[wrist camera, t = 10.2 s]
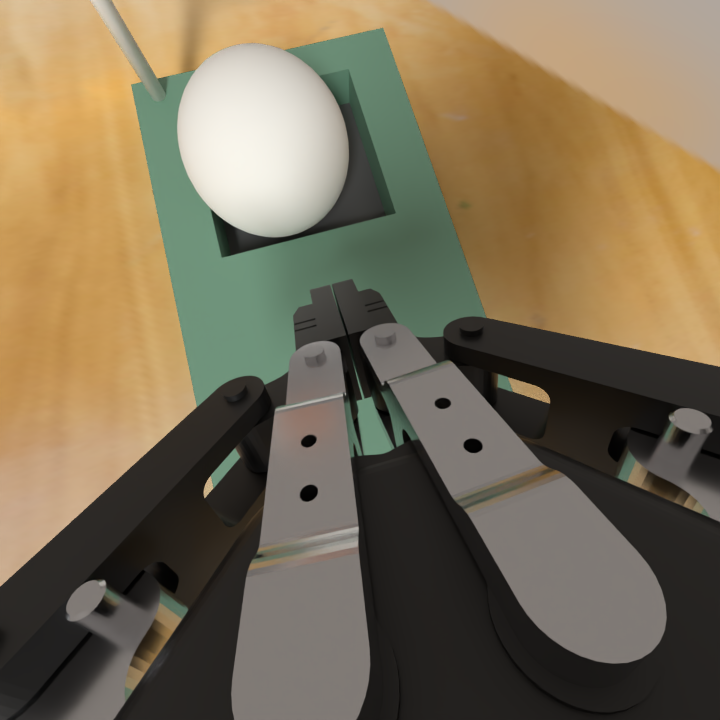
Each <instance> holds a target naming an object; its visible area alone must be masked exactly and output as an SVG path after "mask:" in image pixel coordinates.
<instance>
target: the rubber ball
mask: <svg viewBox="0 0 720 720" xmlns="http://www.w3.org/2000/svg"><path fill="white" fill-rule="evenodd" d="M177 134H178V144H179V149H180V154H181V158H182V161H183V164H184V167H185V169H186V172H187V175H188V177H189V179H190V180H191V182H192V184H193V186H194V188H195V189H196V191H197V193H198V194H199V195H200V197H201V198H202V199H203V200H204V202H205V203H206V204H207V205H208V206H209V207H210V208H211V209H212V210H213V211H214V212H215V213H216V214H217V215H218V216H219V217H221V218H222V219H223V220H225V221H226V222H228V223H229V224H231V225H232V226H234V227H236V228H238V229H241V230H243V231H245V232H247V233H250V234H254V235H258V236H264V237H285V236H291V235H294V234H298V233H300V232H303V231H305V230H307V229H309V228H311V227H313V226H314V225H315V224H317V223H318V222H319V221H321V220H322V219H323V218H324V217H325V216H326V215H327V213H328V212H329V211H330V210H331V209H332V208H333V206H334V205H335V203H336V201H337V199H338V197H339V195H340V193H341V191H342V189H343V186H344V183H345V180H346V176H347V170H348V163H349V142H348V136H347V131H346V126H345V122H344V119H343V116H342V113H341V110H340V108H339V106H338V104H337V102H336V100H335V98H334V96H333V94H332V93H331V91H330V90H329V88H328V87H327V85H326V84H325V82H324V81H323V80H322V79H321V78H320V76H319V75H318V74H317V73H316V72H315V71H314V70H313V69H312V68H311V67H310V66H308V65H307V64H306V63H305V62H303V61H302V60H301V59H299V58H298V57H296V56H294V55H293V54H291V53H289V52H287V51H285V50H282V49H280V48H277V47H274V46H269V45H265V44H258V43H246V44H239V45H234V46H230V47H228V48H225V49H222V50H220V51H218V52H216V53H215V54H213V55H212V56H210V57H209V58H207V59H206V60H205V61H204V62H203V63H202V64H201V65H200V66H199V67H198V68H197V70H196V71H195V72H194V73H193V75H192V76H191V78H190V80H189V82H188V84H187V85H186V87H185V89H184V92H183V95H182V98H181V102H180V106H179V111H178V121H177Z"/></svg>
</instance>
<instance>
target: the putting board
mask: <svg viewBox="0 0 720 720" xmlns="http://www.w3.org/2000/svg"><path fill="white" fill-rule="evenodd" d="M90 1H91V3H92V4H93V6H94V7H95V9H96V11H97V12H98V14H99V15H100V17H101V18H102V20H103V22H104V23H105V25H106V26H107V28H108V29H109V31H110V33H111V34H112V36H113V37H114V39H115V40H116V42H117V44H118V45H119V47H120V48H121V50H122V52H123V53H124V55H125V56H126V58H127V59H128V61H129V63H130V64H131V66H132V67H133V69H134V70H135V72H136V74H137V75H138V77H139V78H140V80H141V81H142V82H141V83H136V84H132V85H131V86H132V91H133V96H134V100H135V105H136V110H137V115H138V120H139V125H140V130H141V135H142V140H143V145H144V149H145V154H146V159H147V164H148V169H149V174H150V179H151V184H152V189H153V194H154V198H155V203H156V208H157V213H158V218H159V223H160V228H161V233H162V238H163V243H164V247H165V252H166V257H167V262H168V267H169V272H170V277H171V282H172V287H173V292H174V296H175V301H176V306H177V311H178V316H179V321H180V326H181V331H182V336H183V341H184V346H185V350H186V355H187V360H188V365H189V370H190V375H191V380H192V385H193V390H194V395H195V399H196V404H197V407H198V406H199V405H200V404H201V403H202V402H203V401H204V400H205V399H207V398H208V397H209V396H210V395H211V394H212V393H213V392H214V391H215V390H216V389H218V388H219V387H220V386H221V385H223V384H224V383H226V382H228V381H230V380H232V379H235V378H238V377H242V376H256V377H259V378H260V379H261V380H262V381H263V383H264V385H265V384H267V383H269V382H272V381H274V380H276V379H277V378H279V377H281V376H283V375H284V374H285V373H287V372H288V371H289V361H290V358H291V356H292V355H293V353H294V352H295V351H296V347H295V334H294V332H295V331H294V322H293V315H294V314H295V312H296V310H297V309H298V307H302V306H305V305H309V304H312V300H311V294H310V290H311V289H315V288H319V287H322V286H326V285H330V286H331V289H332V292H333V288H332V284H334V283H338V282H341V281H345V280H349V279H353V282H354V284H355V286H356V288H357V290H358V291H362V290H366V289H370V288H371V289H373V290H375V291H377V292H379V293H380V294H381V296H382V297H383V299H384V301H385V302H386V304H387V306H388V308H389V309H390V311H391V313H392V314H393V316H394V318H395V319H396V321H397V323H398V324H401V325H404V326H406V327H408V328H409V329H410V331H411V332H412V333H413V334H414V336H416V337H441V336H443V330H444V328H445V326H446V325H447V324H448V323H450V322H451V321H453V320H456V319H459V318H463V317H471V316H476V317H484V318H486V315H485V312H484V310H483V307H482V304H481V301H480V298H479V296H478V293H477V290H476V287H475V284H474V282H473V279H472V276H471V273H470V270H469V268H468V265H467V262H466V259H465V256H464V254H463V251H462V248H461V245H460V242H459V240H458V237H457V234H456V231H455V228H454V226H453V223H452V220H451V217H450V214H449V211H448V209H447V206H446V203H445V200H444V197H443V195H442V192H441V189H440V186H439V183H438V181H437V178H436V175H435V172H434V169H433V167H432V164H431V161H430V158H429V155H428V153H427V150H426V147H425V144H424V141H423V139H422V136H421V133H420V130H419V127H418V125H417V122H416V119H415V116H414V113H413V111H412V108H411V105H410V102H409V99H408V97H407V94H406V91H405V88H404V85H403V82H402V80H401V77H400V74H399V71H398V68H397V66H396V63H395V60H394V57H393V54H392V52H391V49H390V46H389V43H388V40H387V38H386V35H385V32H384V29H383V28H380V29H376V30H371V31H367V32H363V33H358V34H354V35H349V36H345V37H340V38H336V39H332V40H327V41H323V42H318V43H314V44H309V45H305V46H301V47H296V48H292V49H287V50H285V51H287V52H289V53H291V54H293V55H294V56H296V57H298V58H299V59H301V60H302V61H303V62H305V63H306V64H307V65H308V66H310V67H311V68H312V69H313V70H314V71H315V72H316V73H317V74H318V75H319V76H320V78H321V79H322V80H323V81H324V82H325V84H326V85H327V87H328V88H329V90H330V91H331V93H332V94H333V96H334V98H335V100H336V102H337V104H338V106H339V108H340V110H341V113H342V116H343V119H344V122H345V126H346V131H347V136H348V142H349V163H348V170H347V176H346V180H345V183H344V186H343V189H342V191H341V193H340V195H339V197H338V199H337V201H336V203H335V205H334V206H333V208H332V209H331V210H330V211H329V212H328V213H327V215H326V216H325V217H324V218H323V219H322V220H321V221H319V222H318V223H317V224H315V225H314V226H313V227H311V228H309V229H307V230H305V231H303V232H300V233H298V234H294V235H291V236H285V237H264V236H258V235H254V234H250V233H247V232H245V231H243V230H241V229H238V228H236V227H234V226H232V225H231V224H229V223H228V222H226V221H225V220H223V219H222V218H221V217H219V216H218V215H217V214H216V213H215V212H214V211H213V210H212V209H211V208H210V207H209V206H208V205H207V204H206V203H205V202H204V200H203V199H202V198H201V197H200V195H199V194H198V193H197V191H196V189H195V188H194V186H193V184H192V182H191V180H190V179H189V177H188V175H187V172H186V169H185V167H184V164H183V161H182V158H181V154H180V149H179V144H178V134H177V121H178V111H179V106H180V102H181V98H182V95H183V92H184V89H185V87H186V85H187V84H188V82H189V80H190V78H191V76H192V75H193V73H194V72H195V71H196V70H194V71H190V72H185V73H181V74H176V75H172V76H167V77H163V78H159V79H157V78H156V76H155V74H154V72H153V71H152V69H151V67H150V66H149V64H148V62H147V60H146V59H145V57H144V55H143V54H142V52H141V50H140V48H139V47H138V45H137V43H136V42H135V40H134V38H133V36H132V35H131V33H130V31H129V30H128V28H127V26H126V24H125V23H124V21H123V19H122V18H121V16H120V14H119V12H118V11H117V9H116V7H115V6H114V4H113V2H112V0H90ZM333 295H334V292H333ZM334 298H335V296H334ZM335 302H336V299H335ZM336 305H337V303H336ZM337 308H338V307H337ZM354 368H355V367H354ZM355 372H356V370H355ZM356 376H357V373H356ZM357 380H358V384H359V388H360V392H361V396H362V400H359V401H357V405H358V409H359V412H358V417H359V421H360V426H361V433H362V439H363V445H364V451H365V455H376V454H383V453H386V452H389V451H391V450H392V449H391V447H390V444H389V442H388V440H387V438H386V436H385V433H384V431H383V429H382V427H381V425H380V422H379V420H378V418H377V415H376V411H375V406H374V402H373V399H372V397H369V398H365V399H364V395H363V392H362V389H361V386H360V383H359V379H358V376H357ZM498 387H499V388H502V389H505V390H508V391H512V388H511V385H510V383H509V380H508V377H506V376H503V375H499V374H498ZM512 392H513V391H512ZM239 458H240V456H239V454H238V452H237V451H236V449H234V450H233V451H232V452H231V453H230V454H229V455H228V457H227V458H226V459H225V460H224V461H223V462H222V463H221V464H220V466H219V467H218V468H217V469H216V470H215V471H214V472H213V473H212V475H211V478H212V483H213V488H214V487H215V486H216V485H217V484H218V483H219V481H220V480H221V479H222V478H223V477H224V476H225V474H226V473H227V472H228V471H229V470H230V469H231V467H232V466H233V465H234V464H235V463H236V462H237V460H238V459H239Z"/></svg>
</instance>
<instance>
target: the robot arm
mask: <svg viewBox="0 0 720 720" xmlns="http://www.w3.org/2000/svg"><path fill="white" fill-rule="evenodd" d="M332 288H333V292H334V295H333V292H332V289H331V286H330V285H326V286H322V287H319V288H315V289H311V290H310V294H311V300H312V304H309V305H305V306H302V307H298V309H297V310H296V312H295V314H294V315H293V322H294V331H295V332H294V334H295V347H296V351H295V352H294V353H293V355H292V356H291V358H290V361H289V371H288V372H287V373H285V374H284V375H283V376H281V377H279V378H277V379H276V380H274V381H272V382H269V383H267V384H265V385H264V383H263V381H262V380H261V379H260V378H259V377H256V376H242V377H238V378H235V379H232V380H230V381H228V382H226V383H224V384H223V385H221V386H220V387H219V388H218V389H216V390H215V391H214V392H213V393H212V394H211V395H210V396H209V397H208V398H207V399H205V400H204V401H203V402H202V403H201V404H200V405H199V406H198V407H197V408H196V409H195V410H193V411H192V412H191V413H190V414H189V415H188V416H187V417H186V418H185V419H184V420H182V421H181V422H180V423H179V424H178V425H177V426H176V427H175V428H174V429H173V430H171V431H170V432H169V433H168V434H167V435H166V436H165V437H164V438H163V439H162V440H161V441H159V442H158V443H157V444H156V445H155V446H154V447H153V448H152V449H151V450H150V451H148V452H147V453H146V454H145V455H144V456H143V457H142V458H141V459H140V460H139V461H138V462H136V463H135V464H134V465H133V466H132V467H131V468H130V469H129V470H128V471H127V472H125V473H124V474H123V475H122V476H121V477H120V478H119V479H118V480H117V481H116V482H115V483H113V484H112V485H111V486H110V487H109V488H108V489H107V490H106V491H105V492H104V493H102V494H101V495H100V496H99V497H98V498H97V499H96V500H95V501H94V502H93V503H92V504H90V505H89V506H88V507H87V508H86V509H85V510H84V511H83V512H82V513H81V514H79V515H78V516H77V517H76V518H75V519H74V520H73V521H72V522H71V523H70V524H69V525H67V526H66V527H65V528H64V529H63V530H62V531H61V532H60V533H59V534H58V535H56V536H55V537H54V538H53V539H52V540H51V541H50V542H49V543H48V544H47V545H46V546H44V547H43V548H42V549H41V550H40V551H39V552H38V553H37V554H36V555H35V556H33V557H32V558H31V559H30V560H29V561H28V562H27V563H26V564H25V565H24V566H23V567H21V568H20V569H19V570H18V571H17V572H16V573H15V574H14V575H13V576H12V577H10V578H9V579H8V580H7V581H6V582H5V583H4V584H3V585H2V586H1V587H0V720H720V367H718V366H713V365H708V364H703V363H699V362H694V361H689V360H684V359H679V358H675V357H670V356H665V355H660V354H656V353H651V352H646V351H641V350H637V349H632V348H627V347H622V346H617V345H613V344H608V343H603V342H598V341H594V340H589V339H584V338H579V337H575V336H570V335H565V334H560V333H556V332H551V331H546V330H541V329H536V328H532V327H527V326H522V325H517V324H513V323H508V322H503V321H498V320H494V319H489V318H484V317H476V316H471V317H463V318H459V319H456V320H453V321H451V322H450V323H448V324H447V325H446V326H445V328H444V330H443V336H441V337H416V336H414V334H413V333H412V332H411V331H410V329H409V328H408V327H406V326H404V325H401V324H398V323H397V321H396V319H395V318H394V316H393V314H392V313H391V311H390V309H389V308H388V306H387V304H386V302H385V301H384V299H383V297H382V296H381V294H380V293H379V292H377V291H375V290H373V289H371V288H370V289H366V290H362V291H358V290H357V288H356V286H355V284H354V282H353V279H349V280H345V281H341V282H338V283H334V284H332ZM334 296H335V298H334ZM335 299H336V302H335ZM336 303H337V305H336ZM337 307H338V308H337ZM354 367H355V368H354ZM355 370H356V372H355ZM356 373H357V376H358V379H359V383H360V386H361V389H362V392H363V395H364V399H365V398H369V397H372V399H373V402H374V406H375V411H376V415H377V418H378V420H379V422H380V425H381V427H382V429H383V431H384V433H385V436H386V438H387V440H388V442H389V444H390V447H391V449H392V450H391V451H389V452H386V453H383V454H376V455H365V451H364V445H363V439H362V433H361V426H360V421H359V417H358V412H359V409H358V405H357V401H359V400H362V396H361V392H360V388H359V384H358V380H357V376H356ZM498 374H499V375H503V376H506V377H509V378H513V379H516V380H519V381H523V382H526V383H529V384H532V385H535V386H538V387H540V388H542V389H543V390H544V391H545V392H546V393H547V394H548V395H549V397H550V404H548V403H545V402H542V401H539V400H536V399H533V398H530V397H527V396H524V395H521V394H518V393H515V392H512V391H508V390H505V389H502V388H499V387H498ZM234 449H236V451H237V452H238V454H239V456H240V458H239V459H238V460H237V462H236V463H235V464H234V465H233V466H232V467H231V469H230V470H229V471H228V472H227V473H226V474H225V476H224V477H223V478H222V479H221V480H220V481H219V483H218V484H217V485H216V486H215V487H214V488H213V490H212V491H211V492H210V493H209V494H208V495H207V497H206V498H204V494H203V492H204V487H205V484H206V482H207V480H208V478H209V477H210V476H211V475H212V473H213V472H214V471H215V470H216V469H217V468H218V467H219V466H220V464H221V463H222V462H223V461H224V460H225V459H226V458H227V457H228V455H229V454H230V453H231V452H232V451H233V450H234Z"/></svg>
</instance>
